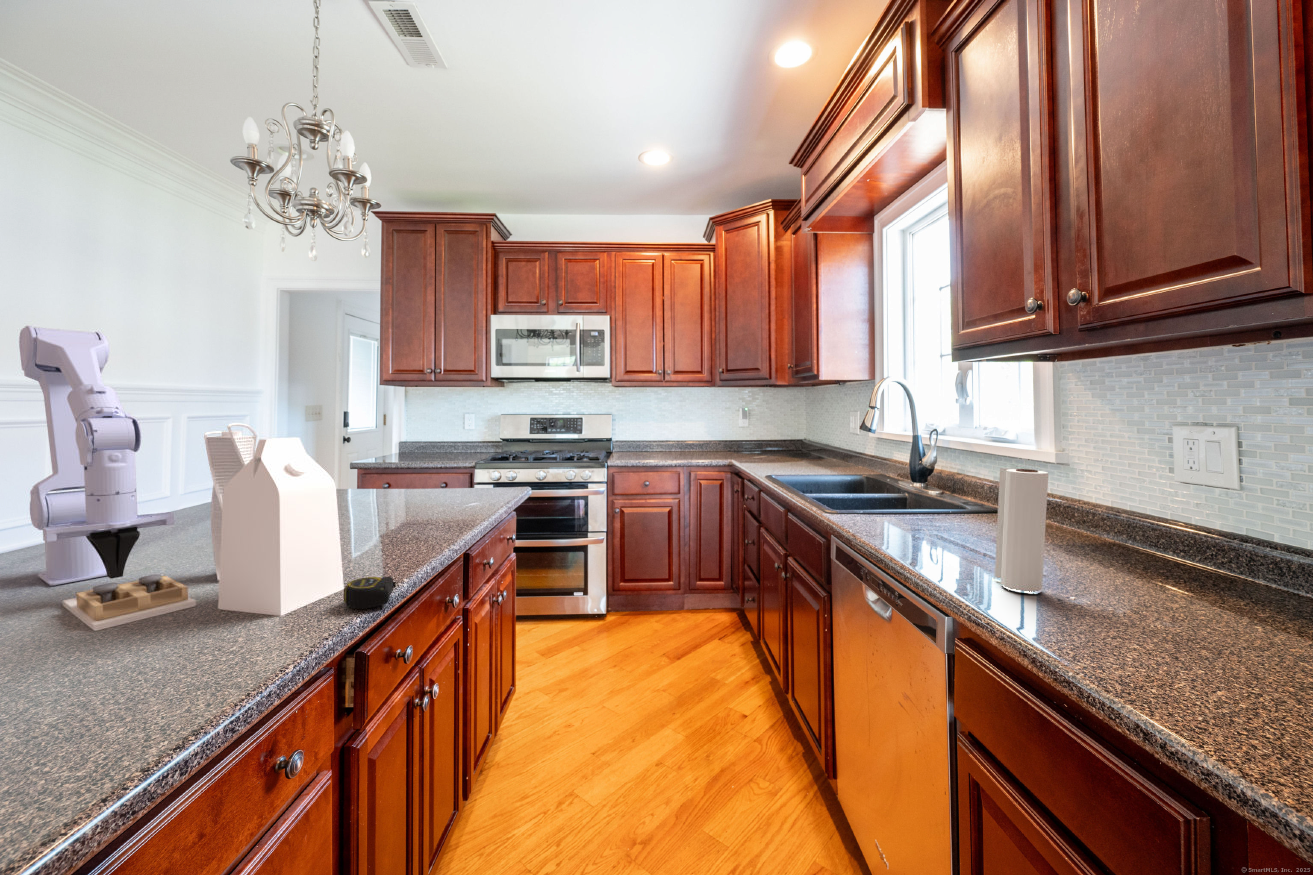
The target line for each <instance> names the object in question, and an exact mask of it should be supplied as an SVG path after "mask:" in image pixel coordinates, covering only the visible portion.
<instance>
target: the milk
mask: <svg viewBox="0 0 1313 875" xmlns="http://www.w3.org/2000/svg"><path fill="white" fill-rule="evenodd" d="M338 510H339V508H338V498H337V487H336V483H335V481H334V479H333V478H332V477H331V475H330V474H329V473H328V472H327V470H325V469H324V468H323V467H321V465H320V464H318V463H317V462H316V461H315V460H314V459H313V458H312V457H311V456H309V454H307V452H306V449H305V447H304V444H303V443H302V441H301V438H300V437H297V436H294V437H279V438H277V437H276V438H261V439H260V438H259V440H258V442H257V444H256V447H255V454H254V458H253V459H252V460H251V461H250V462H248V463H247V464H246V465H245V466H244V467H243V468H242V469H241V470H240V471H239V472H238V473H237V474H236V475H235V476H234V477H233V478H232V479H231V480H230V481H229V482H228V484H227V485H226V486H225V489H224V492H223V505H222V529H221V553H220V577H219V582H218V583H219V584H218V605H217V609H218V610H225V611H233V612H243V613H252V614H259V615H260V614H263V615H270V616H284V615H287V614H289V613H291V612H293V611H296V610H299V609H300V608H302V607H303V608H304V607H305V606H308V605H310V604H311V603H314V602H317V601H319V600H321V599H323V598H326V597H329V596H331V595H333V594H335V593H337V592H340V591H342V590H343V591H344V588H345V587H344V586H345V585H344V575H343V571H344V570H343V558H342V547H341V546H342V545H341V537H340V535H341V533H340V523H339V522H340V521H339V511H338Z"/></svg>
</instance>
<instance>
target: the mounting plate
mask: <svg viewBox="0 0 1313 875" xmlns="http://www.w3.org/2000/svg"><path fill="white" fill-rule="evenodd" d="M161 576H162V574H150V575H144V576H141V577H139V578H138V581H139V583H140V584H145V587H147V593H151V592H156V582H157V581H160V580H161ZM118 585H119V584H118V583H115V582H113V583H112V582H111V583H104V584H100V585H99V584H98V585H96V586H93V587H92V590H93V593H100V597H101V603H106V602H110V601H112V591H113V590H116V589H118ZM61 603H62V606H63V607H64V608H65V609H67V611H68V612H70V613H72V615H74V616H75V617H76V618H77V619H79V620H80V621H81V622H83V623H84V624H85V625H87V626H88V627H89V628H90V629H91V630H93V631H94V632H97V631H100V630H104V629H109V628H112V627H116V626H117V627H118V626H120V625H125V624H128V623H133V622H137V621H141V620H144V619H145V620H146V619H149V618H152V617H157V616H162V615H165V614H169V613H173V612H178V611H180V610H185V609H189V608H194V607H197V600H195V599H193V598H191V597H190V596H188V599H187V600H183V601H179V602H175V603H170V604H166V605H162V606H158V607H153V608H149V609H145V610H141V611H137V612H132V613H128V614H124V615H120V616H115V617H111V618H107V619H103V620H98V621H96V620H94V619H93V618H92V617H90V616H89V615H88V614H86V613H85V612H84V611H83V610H81V609H80V608H79V607H77V600H76V597H72V598H68V599H63V600H62V602H61Z"/></svg>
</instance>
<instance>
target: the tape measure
mask: <svg viewBox="0 0 1313 875" xmlns="http://www.w3.org/2000/svg"><path fill="white" fill-rule="evenodd" d="M344 586H345V587H344V589H343V602H344V604H345V606H347V607H348V608H350V609H356V610H362V609H363V610H364V609H369V608H374V607H378V606H379V607H380V606H384V605H386V604H388V603H389V601H390V596H392V592H393V590H394V588H396V581H394V578H393V577H391V576H383V577H378V576H377V577H376V576H368V577H367V576H366V577H360V578H356V579H354V580H351V581H349V582H348V583H346V585H344Z"/></svg>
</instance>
